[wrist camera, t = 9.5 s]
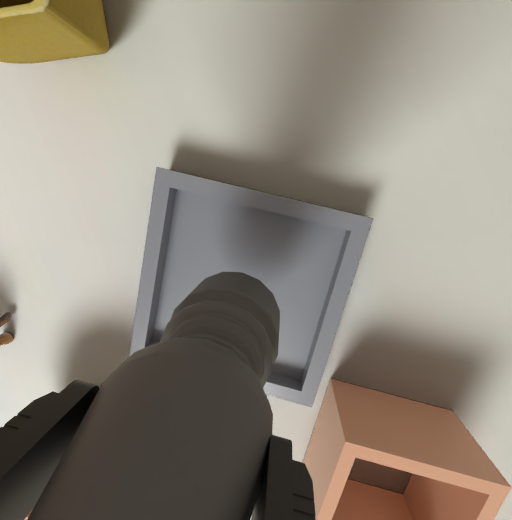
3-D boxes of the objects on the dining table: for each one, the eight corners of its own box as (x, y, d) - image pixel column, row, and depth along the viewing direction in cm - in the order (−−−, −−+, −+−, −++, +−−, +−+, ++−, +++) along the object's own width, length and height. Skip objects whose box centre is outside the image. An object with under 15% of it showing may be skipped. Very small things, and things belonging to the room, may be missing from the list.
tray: (364, 216, 23) (373, 218, 21) (309, 388, 27) (312, 407, 25) (169, 169, 24) (156, 167, 22) (142, 343, 28) (128, 357, 25)
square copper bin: (453, 411, 26) (511, 487, 19) (409, 505, 29) (448, 602, 22) (330, 378, 27) (345, 441, 20) (298, 473, 29) (302, 558, 22)
